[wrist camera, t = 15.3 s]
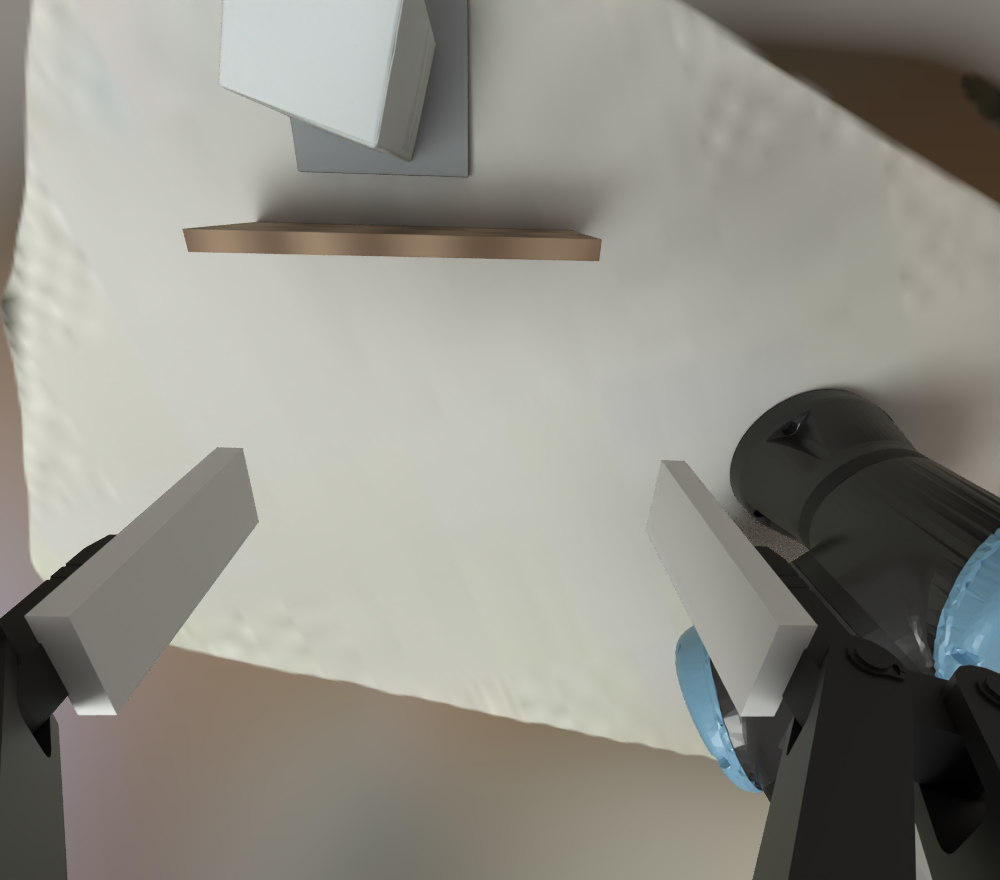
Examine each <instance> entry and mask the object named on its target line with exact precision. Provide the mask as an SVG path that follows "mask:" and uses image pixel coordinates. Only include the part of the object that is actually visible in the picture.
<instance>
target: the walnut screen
mask: <svg viewBox="0 0 1000 880" xmlns="http://www.w3.org/2000/svg"><path fill="white" fill-rule="evenodd" d="M183 233H184V237H185V240H186V244H187V248H188V252H219V253H264V254H308V255H352V256H397V257H441V258H485V259H529V260H574V261H599V257H600V249H601V239H598V238H595V237H591V236H588V235H585V234H581V233H578V232H574V231H571V230H541V229H503V228H465V227H427V226H389V225H351V224H313V223H275V222H251V223H240V224H230V225H219V226H209V227H198V228H187V229H183Z"/></svg>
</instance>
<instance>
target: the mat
mask: <svg viewBox="0 0 1000 880" xmlns="http://www.w3.org/2000/svg"><path fill="white" fill-rule="evenodd" d="M424 2H425V5H426V9H427V13H428V17H429V21H430V25H431V28H432V32H433V36H434V40H435V43H436V46H435V51H434V56H433V61H432V66H431V70H430V75H429V80H428V85H427V89H426V94H425V99H424V104H423V109H422V113H421V118H420V123H419V127H418V132H417V137H416V141H415V145H414V150H413V154H412V158H411V161H410V162H405V161H403V160H400V159H397V158H394V157H391V156H388V155H386V154H383V153H380V152H377V151H374V150H372V149H369V148H366V147H364V146H361V145H358V144H356V143H353V142H350V141H348V140H345V139H342V138H340V137H337V136H334V135H332V134H329V133H327V132H324V131H322V130H319V129H316V128H314V127H311V126H309V125H306V124H304V123H301V122H299V121H297V120H295V119H293V118H291V117H290V120H291V126H292V133H293V140H294V146H295V153H296V160H297V166H298V171H300V172H321V173H352V174H383V175H413V176H444V177H468V43H467V0H424Z"/></svg>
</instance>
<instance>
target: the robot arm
mask: <svg viewBox="0 0 1000 880" xmlns="http://www.w3.org/2000/svg"><path fill="white" fill-rule="evenodd" d="M730 482H731V487H732V490H733V493H734V495H735V497H736V498H737V500H738V501H739V502H740V504H741V505H742V506H743V507H744V508H745V509H746V510H747V512H748V513H749V514H750V515H751V516H752V517H753V518H755V519H756V520H757V521H758V522H760V523H762V524H763V525H765V526H767V527H769V528H771V529H773V530H775V531H777V532H779V533H781V534H783V535H785V536H787V537H789V538H791V539H793V540H795V541H797V542H799V543H801V544H803V545H805V546H806V547H807V548H808V549H809V551H808V552H806V553H805V554H803V555H802V556H800V557H799V558H797V559H795V560H794V561H792V562H790V563H788V562H787V561H786V560H785V559H784V558H782V557H781V556H779V555H778V554H777V553H775V552H774V551H772V550H771V549H769V548H768V547H761V546H753V545H752V544H751V542H750V541H749V540H748V539H747V537H746V536H745V535H744V534H743V532H742V531H741V530H740V529H739V527H738V526H737V525H736V524H735V523H734V521H733V520H732V519H731V518H730V516H729V515H728V514H727V513H726V511H725V510H724V509H723V508H722V506H721V505H720V504H719V503H718V502H717V500H716V499H715V498H714V497H713V495H712V494H711V493H710V492H709V490H708V489H707V488H706V487H705V485H704V484H703V483H702V482H701V480H700V479H699V478H698V477H697V476H696V474H695V473H694V472H693V471H692V469H691V468H690V467H689V466H688V464H687V463H686V462H685V461H666V460H661V464H660V469H659V473H658V478H657V482H656V486H655V491H654V495H653V500H652V504H651V508H650V513H649V517H648V521H647V526H646V532H647V534H648V536H649V538H650V540H651V542H652V544H653V546H654V548H655V550H656V552H657V554H658V556H659V558H660V560H661V562H662V564H663V566H664V568H665V570H666V571H667V573H668V575H669V577H670V579H671V581H672V583H673V585H674V587H675V589H676V591H677V593H678V595H679V597H680V599H681V601H682V603H683V605H684V607H685V609H686V611H687V613H688V615H689V617H690V619H691V621H692V623H693V626H692V627H691V628H689V629H688V630H686V631H685V632H684V633H683V634H682V635H681V637H680V638H679V640H678V642H677V646H676V651H675V653H676V662H675V664H676V671H677V676H678V680H679V684H680V687H681V691H682V694H683V697H684V700H685V702H686V705H687V707H688V710H689V712H690V715H691V717H692V719H693V721H694V724H695V726H696V728H697V730H698V732H699V734H700V736H701V738H702V740H703V741H704V743H705V745H706V747H707V748H708V750H709V752H710V753H711V755H712V756H714V757H716V758H717V760H718V763H719V765H720V768H721V769H722V771H723V772H724V773H725V775H726V776H727V777H728V778H729V779H730V780H731V781H732V782H733V783H734V784H735V785H737V786H738V787H739V788H741V789H742V790H744V791H747V792H755V793H762V792H763V791H764V793H765V794H766V796H767V798H768V800H769V801H770V807H769V812H768V816H767V821H766V825H765V829H764V833H763V837H762V842H761V846H760V850H759V854H758V859H757V863H756V867H755V871H754V876H753V880H1000V498H999V497H998V496H996V495H994V494H992V493H990V492H989V491H987V490H985V489H983V488H981V487H980V486H978V485H976V484H974V483H972V482H971V481H969V480H967V479H965V478H963V477H962V476H960V475H958V474H956V473H954V472H953V471H951V470H949V469H947V468H945V467H944V466H942V465H940V464H938V463H936V462H934V461H933V460H931V459H929V458H927V457H925V456H924V455H922V454H920V453H919V452H917V450H916V449H915V448H914V447H913V445H912V444H911V443H910V442H909V440H908V439H907V438H906V437H905V436H904V434H903V433H902V432H901V431H900V430H899V428H898V427H897V426H896V425H895V424H894V423H893V421H892V419H891V418H890V416H889V415H888V414H887V413H886V412H885V411H884V410H882V409H881V408H880V407H879V406H877V405H875V404H874V403H872V402H870V401H868V400H866V399H864V398H862V397H860V396H858V395H856V394H854V393H851V392H847V391H843V390H834V389H826V390H817V391H811V392H807V393H804V394H800V395H798V396H795V397H793V398H790V399H788V400H786V401H784V402H782V403H780V404H779V405H777V406H775V407H774V408H772V409H771V410H769V411H768V412H767V413H765V414H764V415H763V416H762V417H761V418H760V419H758V420H757V421H756V422H755V423H754V424H753V425H752V427H751V428H750V429H749V430H748V431H747V433H746V434H745V435H744V437H743V438H742V440H741V441H740V443H739V445H738V447H737V449H736V451H735V453H734V456H733V459H732V463H731V469H730ZM258 522H259V521H258V516H257V512H256V507H255V502H254V498H253V493H252V489H251V484H250V479H249V475H248V470H247V466H246V461H245V456H244V452H243V448H219V447H217V448H216V449H215V450H214V451H212V452H211V453H210V454H209V455H208V456H207V457H206V458H204V459H203V460H202V461H201V462H200V463H199V464H198V465H196V466H195V467H194V468H193V469H192V470H191V471H190V472H188V473H187V474H186V475H185V476H184V477H183V478H182V479H180V480H179V481H178V482H177V483H176V484H175V485H174V486H172V487H171V488H170V489H169V490H168V491H167V492H166V493H164V494H163V495H162V496H161V497H160V498H159V499H158V500H156V501H155V502H154V503H153V504H152V505H151V506H149V507H148V508H147V509H146V510H145V511H144V512H143V513H141V514H140V515H139V516H138V517H137V518H136V519H135V520H133V521H132V522H131V523H130V524H129V525H128V526H127V527H125V528H124V529H123V530H122V531H121V532H120V533H119V534H117V535H108V536H106V537H104V538H102V539H100V540H99V541H97V542H95V543H93V544H91V545H89V546H87V547H86V548H84V549H83V550H82V551H80V552H79V553H78V554H77V555H76V556H75V557H73V558H72V559H71V560H70V561H69V562H67V563H66V566H65V567H61V568H60V569H59V570H58V571H57V572H55V573H54V574H53V575H52V576H51V578H50V580H46V581H45V582H43V583H42V584H41V585H40V586H39V587H38V588H36V589H35V590H34V591H33V592H31V593H30V594H29V595H28V596H27V597H25V598H24V599H23V600H22V601H21V602H19V603H18V604H17V605H16V606H15V607H14V608H12V609H11V610H10V611H9V612H7V613H6V614H5V615H4V616H3V617H2V618H0V880H67V864H66V847H65V829H64V813H63V796H62V778H61V761H60V745H59V728H58V723H57V721H56V719H55V717H54V715H53V712H54V711H55V710H56V709H57V707H58V706H59V705H60V704H61V703H62V702H63V700H64V699H65V698H66V697H67V696H68V697H69V699H70V701H71V703H72V705H73V706H74V708H75V710H76V712H77V714H78V715H117V714H118V713H119V711H120V710H121V709H122V707H123V706H124V705H125V703H126V702H127V700H128V699H129V697H130V696H131V695H132V694H133V692H134V691H135V690H136V688H137V687H138V686H139V684H140V683H141V681H142V680H143V679H144V677H145V676H146V675H147V673H148V672H149V671H150V669H151V668H152V666H153V665H154V664H155V662H156V661H157V660H158V658H159V657H160V655H161V654H162V653H163V651H164V650H165V649H166V647H167V646H168V645H169V643H170V642H171V641H172V639H173V638H174V637H175V635H176V634H177V632H178V631H179V630H180V628H181V627H182V626H183V624H184V623H185V622H186V620H187V619H188V617H189V616H190V615H191V613H192V612H193V611H194V609H195V608H196V607H197V605H198V604H199V602H200V601H201V600H202V598H203V597H204V596H205V594H206V593H207V592H208V590H209V589H210V587H211V586H212V585H213V583H214V582H215V581H216V579H217V578H218V577H219V575H220V574H221V572H222V571H223V570H224V568H225V567H226V566H227V564H228V563H229V562H230V560H231V559H232V558H233V556H234V555H235V553H236V552H237V551H238V549H239V548H240V547H241V545H242V544H243V543H244V541H245V540H246V538H247V537H248V536H249V534H250V533H251V532H252V530H253V529H254V528H255V526H256V525H257V523H258Z"/></svg>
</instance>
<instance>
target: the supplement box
mask: <svg viewBox="0 0 1000 880" xmlns="http://www.w3.org/2000/svg"><path fill="white" fill-rule="evenodd" d="M435 46H436V43H435V40H434V36H433V32H432V28H431V25H430V21H429V17H428V13H427V9H426V5H425V2H424V0H223V1H222V22H221V44H220V65H219V85H220V86H221V87H223V88H225V89H227V90H229V91H231V92H234V93H236V94H238V95H241V96H243V97H246V98H248V99H250V100H252V101H255V102H257V103H260V104H262V105H264V106H267V107H269V108H271V109H274V110H276V111H278V112H280V113H283V114H285V115H287V116H289V117H291V118H293V119H295V120H297V121H299V122H301V123H304V124H306V125H309V126H311V127H314V128H316V129H319V130H322V131H324V132H327V133H329V134H332V135H334V136H337V137H340V138H342V139H345V140H348V141H350V142H353V143H356V144H358V145H361V146H364V147H366V148H369V149H372V150H374V151H377V152H380V153H383V154H386V155H388V156H391V157H394V158H397V159H400V160H403V161H405V162H410V161H411V158H412V154H413V150H414V145H415V141H416V137H417V132H418V127H419V123H420V118H421V113H422V109H423V104H424V99H425V94H426V89H427V85H428V80H429V75H430V70H431V66H432V61H433V56H434V51H435Z"/></svg>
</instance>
